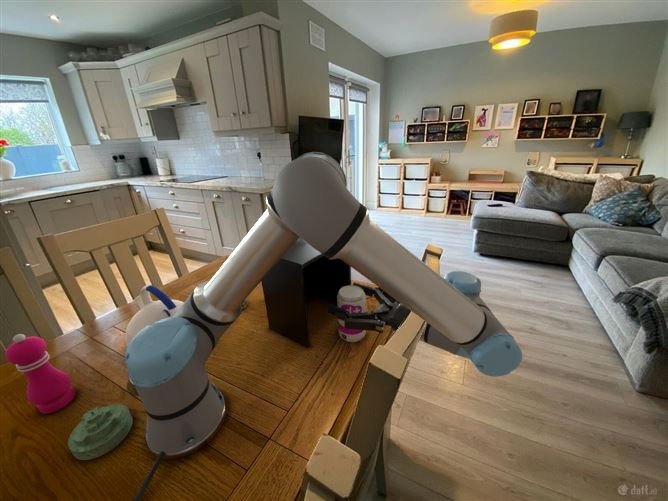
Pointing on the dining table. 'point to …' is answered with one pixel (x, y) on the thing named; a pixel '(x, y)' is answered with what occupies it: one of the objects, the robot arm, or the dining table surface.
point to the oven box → (301, 288)
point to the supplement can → (351, 310)
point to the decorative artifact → (100, 431)
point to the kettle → (150, 310)
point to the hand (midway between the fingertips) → (341, 296)
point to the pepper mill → (40, 374)
